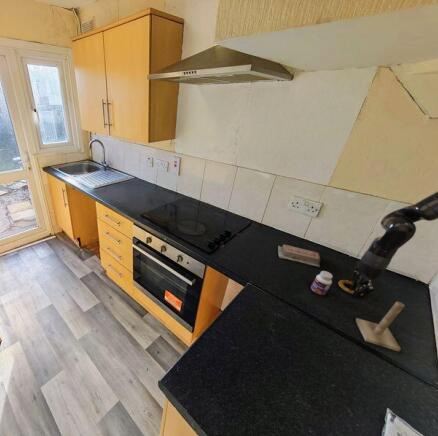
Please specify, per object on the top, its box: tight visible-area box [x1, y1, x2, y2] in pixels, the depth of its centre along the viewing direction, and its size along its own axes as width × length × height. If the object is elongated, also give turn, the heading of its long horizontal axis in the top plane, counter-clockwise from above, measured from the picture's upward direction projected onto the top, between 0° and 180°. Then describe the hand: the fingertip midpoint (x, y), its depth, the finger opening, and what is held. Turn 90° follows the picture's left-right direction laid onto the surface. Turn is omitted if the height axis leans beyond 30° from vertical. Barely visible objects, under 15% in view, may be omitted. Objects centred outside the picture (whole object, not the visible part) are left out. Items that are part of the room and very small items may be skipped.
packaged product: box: [277, 244, 321, 268], centre depth 117 cm, size 18×5×10 cm
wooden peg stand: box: [354, 301, 406, 352], centre depth 75 cm, size 9×9×16 cm
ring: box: [337, 279, 364, 296], centre depth 98 cm, size 9×9×2 cm
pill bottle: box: [310, 270, 334, 296], centre depth 94 cm, size 5×5×10 cm
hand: (353, 294), depth 96 cm, fingers closed
